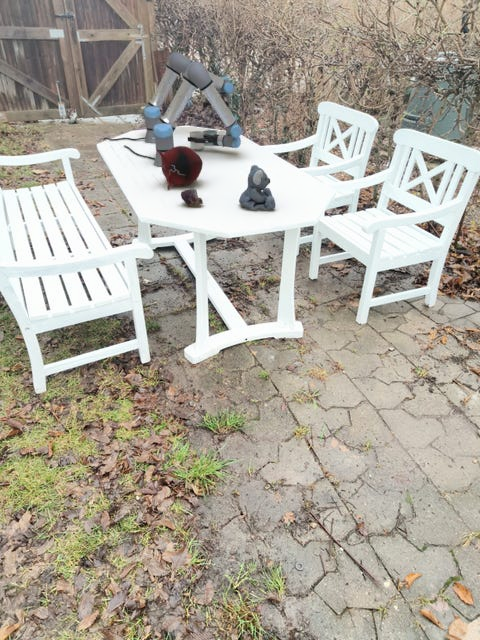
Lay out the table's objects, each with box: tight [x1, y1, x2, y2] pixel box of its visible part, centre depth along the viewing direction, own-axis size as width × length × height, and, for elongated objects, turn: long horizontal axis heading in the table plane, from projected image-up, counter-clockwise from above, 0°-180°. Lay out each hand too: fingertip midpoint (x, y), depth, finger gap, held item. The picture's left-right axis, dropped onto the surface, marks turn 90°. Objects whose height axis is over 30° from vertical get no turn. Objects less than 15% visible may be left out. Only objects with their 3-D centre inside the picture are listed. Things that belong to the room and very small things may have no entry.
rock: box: [180, 188, 204, 207], centre depth 229 cm, size 12×9×10 cm
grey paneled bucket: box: [189, 130, 205, 150], centre depth 320 cm, size 10×10×10 cm
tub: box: [201, 129, 218, 147], centre depth 335 cm, size 11×11×9 cm
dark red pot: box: [158, 145, 203, 191], centre depth 255 cm, size 21×24×25 cm
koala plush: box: [238, 164, 276, 211], centre depth 224 cm, size 17×18×20 cm
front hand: (191, 137), depth 320 cm, fingers closed on grey paneled bucket, 10 cm apart
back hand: (212, 106), depth 332 cm, fingers open, 13 cm apart
